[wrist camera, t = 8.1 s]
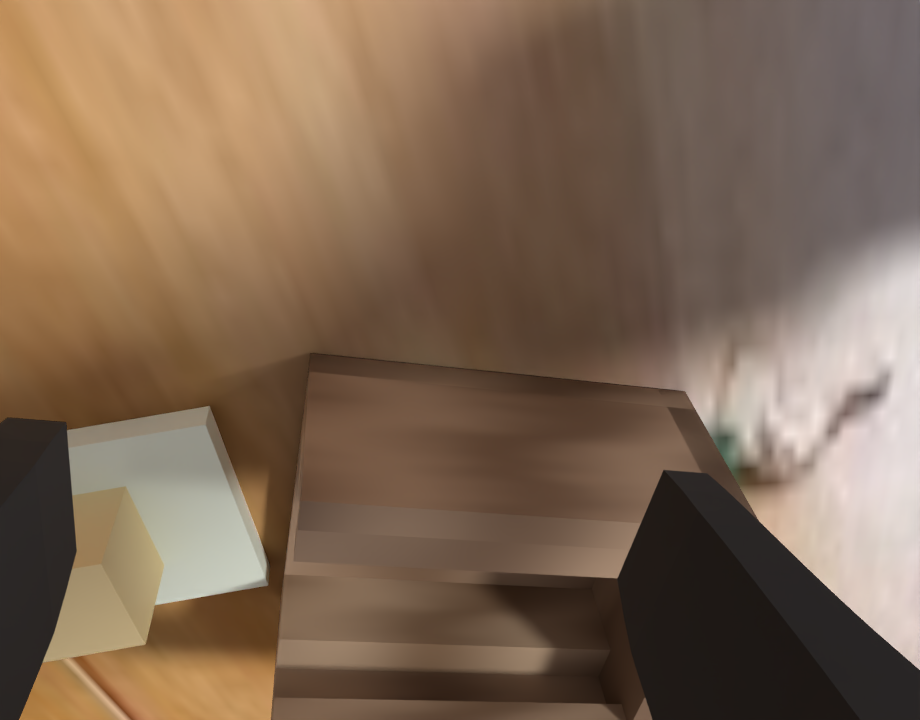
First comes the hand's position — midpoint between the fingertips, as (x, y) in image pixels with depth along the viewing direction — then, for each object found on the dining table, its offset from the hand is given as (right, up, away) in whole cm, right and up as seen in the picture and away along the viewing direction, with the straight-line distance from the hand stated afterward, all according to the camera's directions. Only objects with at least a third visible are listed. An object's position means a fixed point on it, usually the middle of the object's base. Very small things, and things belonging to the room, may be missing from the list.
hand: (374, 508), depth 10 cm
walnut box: (+1, -2, +14) cm, 14 cm away
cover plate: (-9, -2, +13) cm, 16 cm away
